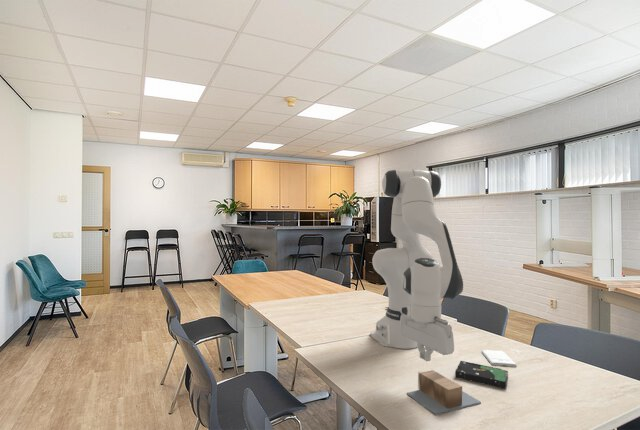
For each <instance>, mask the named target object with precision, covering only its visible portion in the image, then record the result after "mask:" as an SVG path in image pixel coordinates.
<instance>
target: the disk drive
mask: <svg viewBox="0 0 640 430" xmlns="http://www.w3.org/2000/svg"><path fill="white" fill-rule="evenodd" d="M454 372H455V373H454V375H455V376H454V377H455V378H456V379H460V380H464V381H469V382H474V383H478V384H482V385H487V386H490V387H495V388H498V389H503V390H507V386H508V379H509V371H508V370H506V369H502V368H498V367H493V366H488V365H483V364H479V363H474V362H468V361H465V360H460V362H459V364H458V365H457V368H456V369H455V371H454Z"/></svg>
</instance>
